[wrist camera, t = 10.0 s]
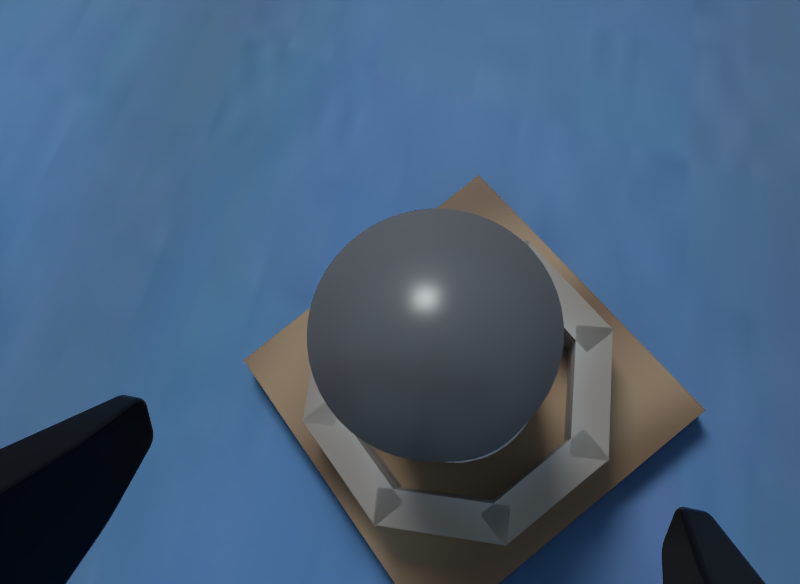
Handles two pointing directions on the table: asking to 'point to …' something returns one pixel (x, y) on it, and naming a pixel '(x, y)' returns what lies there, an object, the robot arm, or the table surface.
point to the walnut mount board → (509, 467)
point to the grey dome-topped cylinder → (435, 336)
